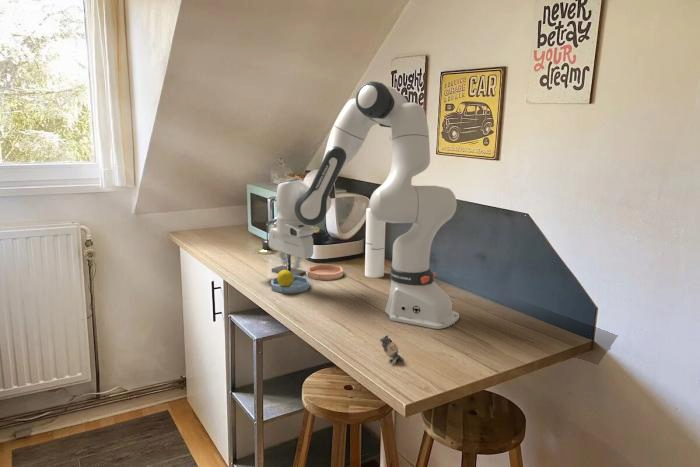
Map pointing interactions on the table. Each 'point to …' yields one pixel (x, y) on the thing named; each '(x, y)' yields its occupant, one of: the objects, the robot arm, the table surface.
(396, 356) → the grey brown knobbly figurine
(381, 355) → the table surface
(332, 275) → the terracotta dish
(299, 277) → the blue dish
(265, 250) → the balance
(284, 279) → the lemon
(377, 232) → the cylindrical container
